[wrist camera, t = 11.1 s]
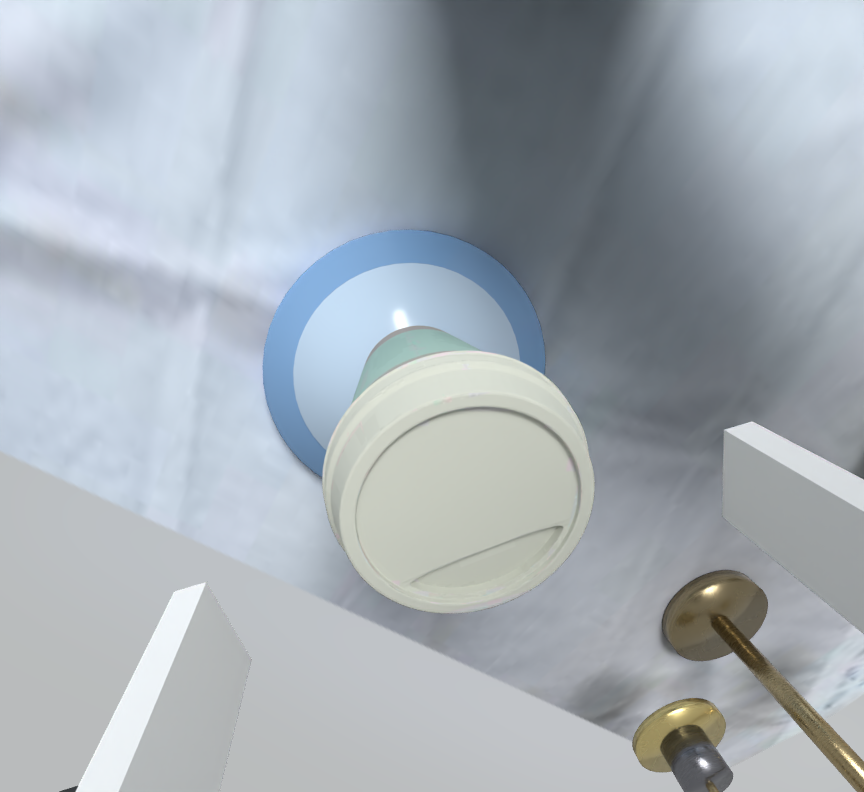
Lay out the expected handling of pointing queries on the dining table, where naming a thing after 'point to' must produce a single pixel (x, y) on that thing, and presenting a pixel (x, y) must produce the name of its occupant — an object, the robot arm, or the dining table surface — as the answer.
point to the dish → (383, 323)
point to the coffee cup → (455, 474)
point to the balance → (700, 719)
